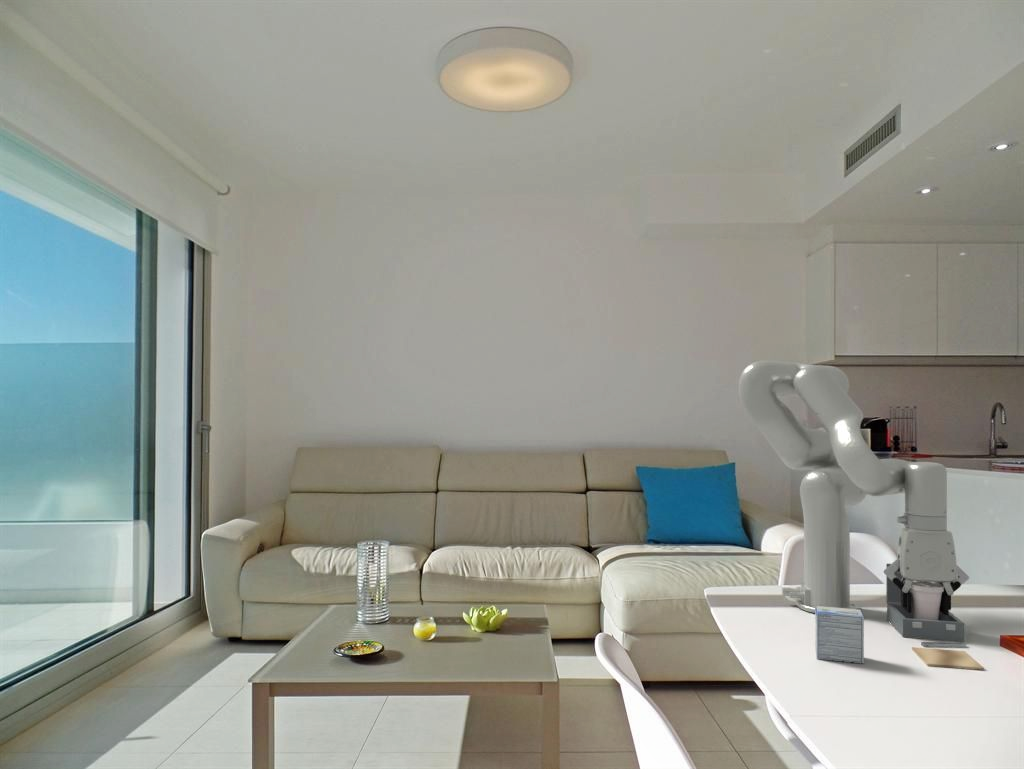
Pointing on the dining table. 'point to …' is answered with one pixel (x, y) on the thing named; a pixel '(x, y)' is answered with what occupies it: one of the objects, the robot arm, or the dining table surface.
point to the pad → (947, 658)
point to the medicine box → (839, 634)
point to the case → (919, 628)
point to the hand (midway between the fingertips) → (925, 611)
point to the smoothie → (926, 599)
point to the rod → (943, 644)
